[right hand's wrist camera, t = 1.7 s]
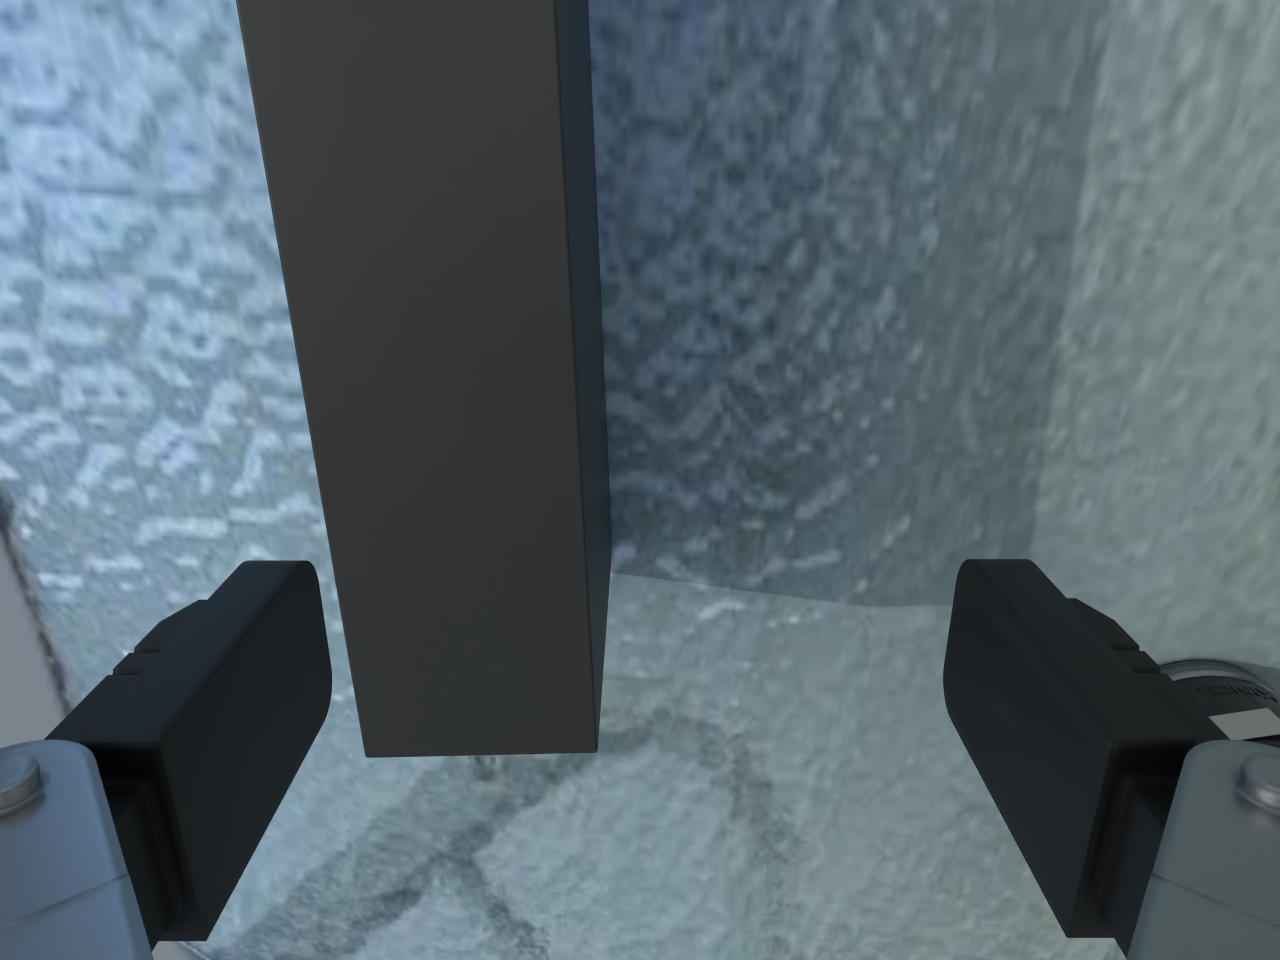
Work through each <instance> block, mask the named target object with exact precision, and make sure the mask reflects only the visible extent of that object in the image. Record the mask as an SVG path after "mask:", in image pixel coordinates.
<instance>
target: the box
mask: <svg viewBox="0 0 1280 960" xmlns="http://www.w3.org/2000/svg"><path fill="white" fill-rule="evenodd" d="M236 3H237V9H238V15H239V20H240V26H241V32H242V38H243V44H244V50H245V55H246V61H247V67H248V73H249V79H250V85H251V91H252V96H253V102H254V108H255V114H256V120H257V126H258V132H259V137H260V143H261V149H262V155H263V161H264V167H265V172H266V178H267V184H268V190H269V196H270V202H271V208H272V213H273V219H274V225H275V231H276V237H277V243H278V248H279V254H280V260H281V266H282V272H283V278H284V284H285V289H286V295H287V301H288V307H289V313H290V319H291V324H292V330H293V336H294V342H295V348H296V354H297V360H298V365H299V371H300V377H301V383H302V389H303V395H304V400H305V406H306V412H307V418H308V424H309V430H310V436H311V441H312V447H313V453H314V459H315V465H316V471H317V476H318V482H319V488H320V494H321V500H322V506H323V512H324V517H325V523H326V529H327V535H328V541H329V547H330V552H331V558H332V564H333V570H334V576H335V582H336V588H337V593H338V599H339V605H340V611H341V617H342V623H343V628H344V634H345V640H346V646H347V652H348V658H349V664H350V669H351V675H352V681H353V687H354V693H355V699H356V704H357V710H358V716H359V722H360V728H361V734H362V740H363V745H364V751H365V756H366V757H367V758H374V757H419V756H464V755H509V754H554V753H595V752H597V750H598V737H599V723H600V709H601V694H602V680H603V666H604V652H605V638H606V624H607V610H608V596H609V582H610V568H611V553H612V539H611V516H610V494H609V471H608V448H607V425H606V402H605V379H604V356H603V333H602V311H601V288H600V265H599V242H598V219H597V196H596V173H595V150H594V127H593V105H592V82H591V59H590V36H589V13H588V0H236Z"/></svg>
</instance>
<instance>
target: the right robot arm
mask: <svg viewBox="0 0 1280 960" xmlns="http://www.w3.org/2000/svg"><path fill="white" fill-rule="evenodd" d="M134 649H135V650H134V653H129V654H128V655H127V656H126V657H125V658H124V659H123V660H122V661H121V662H120V663H119V664H118V665H117V666H116V667H115V668H114V669H113V675H107V676H106V677H105V678H104V679H103V680H102V681H101V682H100V683H99V684H98V685H97V686H96V687H95V688H94V689H93V690H92V691H91V692H90V693H89V694H88V695H87V696H86V697H85V698H84V699H83V700H82V701H81V702H80V703H79V704H78V705H77V707H76V708H75V709H74V710H73V711H72V712H71V713H70V714H69V715H68V716H67V717H66V718H65V719H64V720H63V721H62V722H61V723H60V724H59V725H58V726H57V727H56V728H55V729H54V730H53V731H52V732H51V733H50V734H49V735H48V736H47V737H46V738H45V739H44V740H38V741H30V742H24V743H20V744H15V745H11V746H7V747H4V748H0V960H154V959H153V955H152V951H153V949H154V947H155V946H156V944H157V942H158V941H206V940H207V939H208V937H209V935H210V933H211V931H212V929H213V927H214V926H215V924H216V922H217V920H218V918H219V916H220V914H221V913H222V911H223V909H224V907H225V905H226V903H227V901H228V900H229V898H230V896H231V894H232V892H233V890H234V888H235V887H236V885H237V883H238V881H239V879H240V877H241V875H242V874H243V872H244V870H245V868H246V866H247V864H248V862H249V861H250V859H251V857H252V855H253V853H254V851H255V849H256V847H257V846H258V844H259V842H260V840H261V838H262V836H263V834H264V833H265V831H266V829H267V827H268V825H269V823H270V821H271V820H272V818H273V816H274V814H275V812H276V810H277V808H278V807H279V805H280V803H281V801H282V799H283V797H284V795H285V794H286V792H287V790H288V788H289V786H290V784H291V782H292V781H293V779H294V777H295V775H296V773H297V771H298V769H299V768H300V766H301V764H302V762H303V760H304V758H305V756H306V755H307V753H308V751H309V749H310V747H311V745H312V743H313V742H314V740H315V738H316V736H317V734H318V732H319V730H320V728H321V727H322V725H323V723H324V721H325V719H326V716H327V713H328V709H329V705H330V700H331V692H332V669H331V662H330V655H329V648H328V642H327V635H326V628H325V621H324V615H323V608H322V601H321V594H320V588H319V581H318V576H317V573H316V570H315V568H314V566H313V565H312V563H310V562H309V561H245V562H243V563H242V564H240V565H239V566H238V568H237V569H236V570H235V571H234V572H233V573H232V574H231V575H230V576H229V577H228V578H227V579H226V580H225V582H224V583H223V584H222V585H221V586H220V587H219V588H218V589H217V590H216V591H215V592H214V593H213V594H212V595H211V597H210V598H209V599H208V600H198V601H196V602H194V603H192V604H191V605H189V606H187V607H185V608H183V609H182V610H180V611H178V612H176V613H175V614H173V615H171V616H169V617H168V618H166V619H164V620H162V621H161V622H159V623H158V624H157V625H156V626H155V627H154V628H153V629H152V630H151V631H150V632H149V633H148V634H147V635H146V636H145V637H144V638H143V639H142V641H141V642H140V643H139V644H138V645H137V646H136V647H135V648H134ZM943 686H944V696H945V702H946V706H947V710H948V713H949V716H950V718H951V721H952V723H953V725H954V726H955V728H956V730H957V732H958V734H959V736H960V738H961V740H962V741H963V743H964V745H965V747H966V749H967V751H968V753H969V755H970V757H971V758H972V760H973V762H974V764H975V766H976V768H977V770H978V772H979V773H980V775H981V777H982V779H983V781H984V783H985V785H986V787H987V788H988V790H989V792H990V794H991V796H992V798H993V800H994V802H995V804H996V805H997V807H998V809H999V811H1000V813H1001V815H1002V817H1003V819H1004V820H1005V822H1006V824H1007V826H1008V828H1009V830H1010V832H1011V834H1012V836H1013V837H1014V839H1015V841H1016V843H1017V845H1018V847H1019V849H1020V851H1021V852H1022V854H1023V856H1024V858H1025V860H1026V862H1027V864H1028V866H1029V868H1030V869H1031V871H1032V873H1033V875H1034V877H1035V879H1036V881H1037V883H1038V884H1039V886H1040V888H1041V890H1042V892H1043V894H1044V896H1045V898H1046V900H1047V901H1048V903H1049V905H1050V907H1051V909H1052V911H1053V913H1054V915H1055V916H1056V918H1057V920H1058V922H1059V924H1060V926H1061V928H1062V930H1063V932H1064V933H1065V935H1066V937H1067V938H1115V940H1116V942H1117V943H1118V945H1119V947H1120V948H1121V950H1122V952H1123V953H1124V955H1125V957H1126V960H1280V696H1279V695H1278V694H1277V693H1276V692H1275V691H1274V690H1273V689H1271V688H1270V687H1269V686H1268V685H1267V684H1266V683H1265V682H1263V681H1262V680H1261V679H1259V678H1258V677H1257V676H1255V675H1253V674H1251V673H1250V672H1248V671H1246V670H1243V669H1241V668H1239V667H1235V666H1232V665H1229V664H1224V663H1219V662H1210V661H1188V662H1180V663H1173V664H1169V665H1164V666H1160V667H1159V666H1158V665H1157V664H1156V663H1155V661H1154V660H1153V659H1152V658H1151V657H1150V656H1149V655H1148V654H1147V653H1146V652H1145V651H1140V650H1139V645H1138V644H1137V643H1136V642H1135V641H1134V640H1133V639H1132V638H1131V637H1130V636H1129V635H1128V634H1127V633H1126V632H1125V631H1124V630H1123V629H1122V628H1121V627H1120V626H1119V625H1118V624H1117V623H1116V622H1115V621H1114V620H1113V619H1111V618H1109V617H1108V616H1106V615H1104V614H1102V613H1101V612H1099V611H1097V610H1095V609H1094V608H1092V607H1090V606H1088V605H1087V604H1085V603H1083V602H1081V601H1079V600H1078V599H1076V598H1066V597H1065V596H1064V595H1063V594H1062V593H1061V592H1060V591H1059V589H1058V588H1057V587H1056V586H1055V585H1054V584H1053V583H1052V582H1051V581H1050V580H1049V579H1048V577H1047V576H1046V575H1045V574H1044V573H1043V572H1042V571H1041V570H1040V569H1039V568H1038V567H1037V566H1036V564H1035V563H1033V562H1032V561H1031V560H1029V559H967V560H965V561H964V562H963V563H962V565H961V567H960V569H959V572H958V575H957V581H956V587H955V594H954V601H953V608H952V615H951V621H950V628H949V635H948V642H947V649H946V656H945V663H944V671H943Z"/></svg>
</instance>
